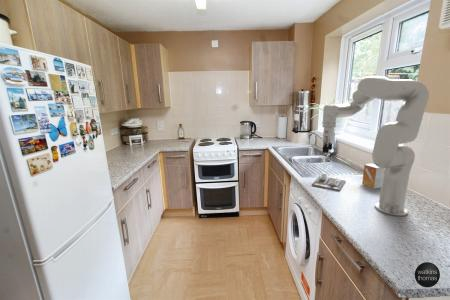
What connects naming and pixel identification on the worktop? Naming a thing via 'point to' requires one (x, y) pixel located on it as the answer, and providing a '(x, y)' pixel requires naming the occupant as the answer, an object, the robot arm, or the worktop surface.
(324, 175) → the switch
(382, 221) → the worktop surface
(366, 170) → the small box
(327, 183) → the switch unit
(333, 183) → the switch
